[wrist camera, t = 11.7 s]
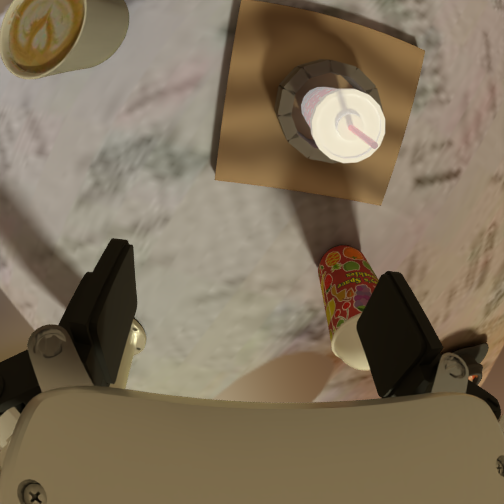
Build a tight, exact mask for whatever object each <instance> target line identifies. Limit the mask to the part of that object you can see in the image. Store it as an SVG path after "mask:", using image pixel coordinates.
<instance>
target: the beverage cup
mask: <svg viewBox="0 0 504 504" xmlns="http://www.w3.org/2000/svg"><path fill="white" fill-rule="evenodd" d="M301 110H302V115H303V116H304V118H305V120H306V122H307V124H308V125H309V127H310V129H311V135H312V137H313V139H314V141H315V143H316V145H317V146H318V148H319V150H321V151H322V152H323V153H324V154H325V155H326V156H328V157H329V158H330V159H332V160H335V161H338V162H341V163H355V162H359V161H361V160H364V159H366V158H368V157H370V156H371V155H372V154H373V153H374V152H375V151H376V150H377V149H378V148H379V147H380V145H381V142H382V140H383V137H384V135H385V117H384V115H383V112H382V110H381V107H380V105H379V104H378V103H377V102H376V101H375V100H374V99H373V98H372V97H371V96H370V95H368V94H366V93H363V92H361V91H359V90H356V89H336V88H329V87H317V88H314V89H312V90H310V91H309V92H308V93H307V94H306V95H305V96H304V98H303V101H302V104H301Z"/></svg>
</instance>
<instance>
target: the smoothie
mask: <svg viewBox="0 0 504 504" xmlns="http://www.w3.org/2000/svg"><path fill="white" fill-rule="evenodd" d="M318 274H319V279H320V284H321V290H322V295H323V300H324V305H325V311H326V316H327V322H328V328H329V333H330V339H331V350H332V351H333V353H334V354H335V355H336V356H338V357H339V358H341V360H342V361H343V362H344V363H346V364H347V365H349V366H351V367H352V368H355V369H357V370H365V371H367V370H370V367H369V364H368V361H367V358H366V355H365V352H364V350H363V347H362V344H361V341H360V338H359V335H358V332H357V329H356V325H357V321H358V319H359V317H360V316H361V314H362V312H363V310H364V308H365V306H366V304H367V302H368V300H369V299H370V297H371V295H372V293H373V291H374V289H375V287H376V285H377V283H378V281H379V280H378V278H377V276H376V275H375V273H374V271H373V270H372V268H371V267H370V265H369V263H368V262H367V260H366V258H365V257H364V255H363V254H362V253H361V252H360V251H359V250H357V249H355V248H353V247H350V246H346V245H341V246H336V247H334V248H332V249H330V250H328V251H327V252H326V253H325V254H324V256H323V257H322V259H321V262H320V264H319V268H318Z"/></svg>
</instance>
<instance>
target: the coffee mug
mask: <svg viewBox="0 0 504 504" xmlns="http://www.w3.org/2000/svg"><path fill="white" fill-rule="evenodd" d="M128 25H129V12H128V8H127V5H126V3H125V2H124V0H14V1H13V2H12V4H11V5H10V7H9V9H8V10H7V12H6V14H5V17H4V19H3V22H2V26H1V30H0V54H1V58H2V60H3V63H4V65H5V66H6V67H7V69H8V70H9V71H10V72H11V73H12V74H14V75H15V76H17V77H19V78H23V79H37V78H42V77H46V76H50V75H55V74H59V73H64V72H69V71H74V70H80V69H85V68H91V67H94V66H97V65H99V64H101V63H102V62H104V61H105V60H107V59H108V58H109V57H111V56H112V55H113V54H114V53H115V52H116V50H117V49H118V48H119V47H120V45H121V43H122V42H123V40H124V38H125V36H126V33H127V30H128Z"/></svg>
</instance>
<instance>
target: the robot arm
mask: <svg viewBox="0 0 504 504" xmlns="http://www.w3.org/2000/svg"><path fill="white" fill-rule="evenodd" d="M136 309H137V294H136V282H135V268H134V251H133V245H129V243H128V241H127V240H123V239H114V238H113V239H111V241H110V242H109V244H108V246H107V247H106V249H105V251H104V253H103V254H102V256H101V258H100V260H99V261H98V263H97V265H96V267H95V269H94V271H93V272H87V273H86V274H85V275H84V277H83V278H82V280H81V282H80V284H79V286H78V288H77V289H76V291H75V293H74V295H73V297H72V299H71V301H70V303H69V305H68V307H67V309H66V311H65V313H64V315H63V317H62V319H61V321H60V323H59V325H50V324H49V325H45V326H42V327H40V328H38V329H36V330H35V331H34V332H33V333H32V334H31V336H30V338H29V340H28V344H27V347H28V350H26V351H24V352H21V353H19V354H17V355H15V356H13V357H11V358H9V359H6V360H4V361H2V362H0V504H504V415H502V416H501V417H500V415H501V409H500V405H499V403H498V400H497V399H496V398H495V397H493V396H492V395H491V394H489V393H488V392H487V391H485V390H483V389H482V388H481V387H479V386H478V385H476V384H475V383H473V382H472V381H470V380H469V379H468V377H469V370H468V367H467V365H466V363H465V362H464V361H463V359H462V358H461V357H459V356H458V355H456V354H454V353H449V352H448V353H444V354H443V355H442V356H441V354H440V352H441V350H442V349H443V346H442V344H441V342H440V340H439V338H438V336H437V335H436V333H435V331H434V329H433V327H432V325H431V323H430V322H429V320H428V318H427V316H426V314H425V313H424V311H423V309H422V307H421V306H420V304H419V302H418V300H417V299H416V297H415V295H414V294H413V292H412V290H411V288H410V287H409V285H408V283H407V282H406V280H405V279H404V277H403V275H402V274H401V273H399V272H392V271H387V272H386V273H385V274H383V275H381V277H380V279H379V281H378V283H377V285H376V287H375V289H374V291H373V293H372V295H371V297H370V299H369V300H368V302H367V304H366V306H365V308H364V310H363V312H362V314H361V316H360V317H359V319H358V321H357V325H356V329H357V332H358V335H359V338H360V341H361V344H362V347H363V350H364V352H365V355H366V358H367V361H368V364H369V367H370V370H371V373H372V376H373V380H374V383H375V386H376V389H377V392H378V395H379V396H380V397H382V398H381V399H369V400H356V401H339V402H312V403H270V402H268V403H267V402H241V401H225V400H212V399H201V398H191V397H182V396H173V395H164V394H156V393H149V392H142V391H135V390H128V389H125V388H126V384H127V379H128V375H129V371H130V367H131V363H132V359H133V356H134V355H136V354H138V353H140V352H141V351H142V350H143V349H144V347H145V344H146V334H145V332H144V330H143V328H142V327H141V325H140V324H139V323H138V322H137V321H136V320H135V319H134V316H135V312H136Z"/></svg>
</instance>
